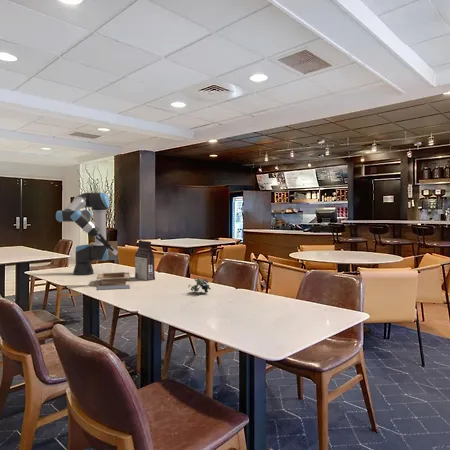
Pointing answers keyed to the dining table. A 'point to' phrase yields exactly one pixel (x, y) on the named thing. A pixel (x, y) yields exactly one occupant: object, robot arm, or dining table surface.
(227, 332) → the dining table surface
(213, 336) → the dining table surface
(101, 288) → the mat
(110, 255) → the box
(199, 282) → the passion flower
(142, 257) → the coffee bag
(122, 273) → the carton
